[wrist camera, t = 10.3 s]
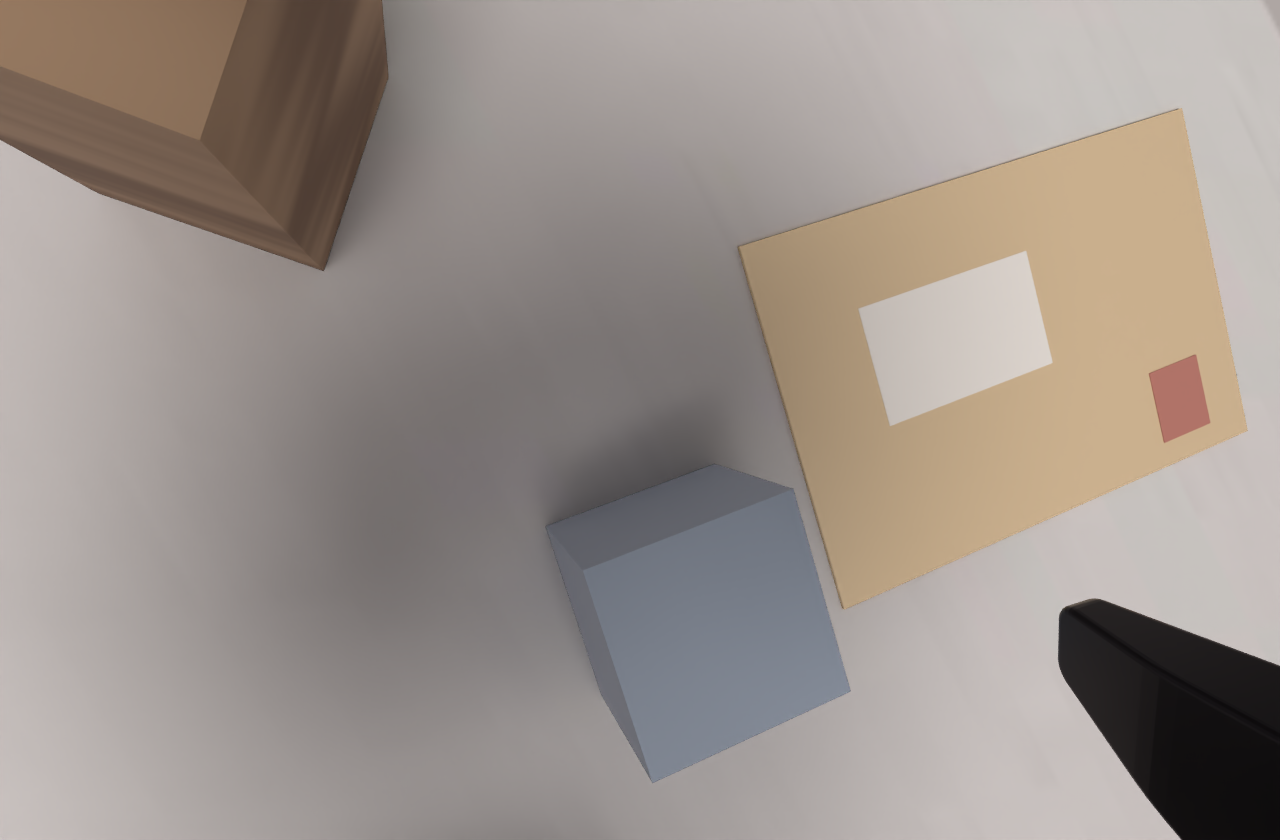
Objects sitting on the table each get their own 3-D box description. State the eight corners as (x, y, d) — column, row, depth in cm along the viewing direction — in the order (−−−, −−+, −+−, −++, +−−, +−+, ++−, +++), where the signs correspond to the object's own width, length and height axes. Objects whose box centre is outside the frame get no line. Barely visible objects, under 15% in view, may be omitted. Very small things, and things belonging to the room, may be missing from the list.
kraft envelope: (840, 607, 24) (845, 609, 24) (736, 247, 23) (739, 246, 23) (1242, 430, 28) (1248, 430, 28) (1176, 109, 26) (1182, 107, 26)
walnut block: (323, 271, 20) (199, 140, 8) (98, 192, 19) (-422, -91, 7) (388, 76, 20) (354, -318, 8) (169, -15, 19) (-230, -635, 7)
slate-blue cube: (601, 694, 23) (652, 783, 18) (544, 525, 22) (582, 570, 17) (761, 625, 24) (851, 691, 19) (713, 463, 23) (793, 488, 18)
